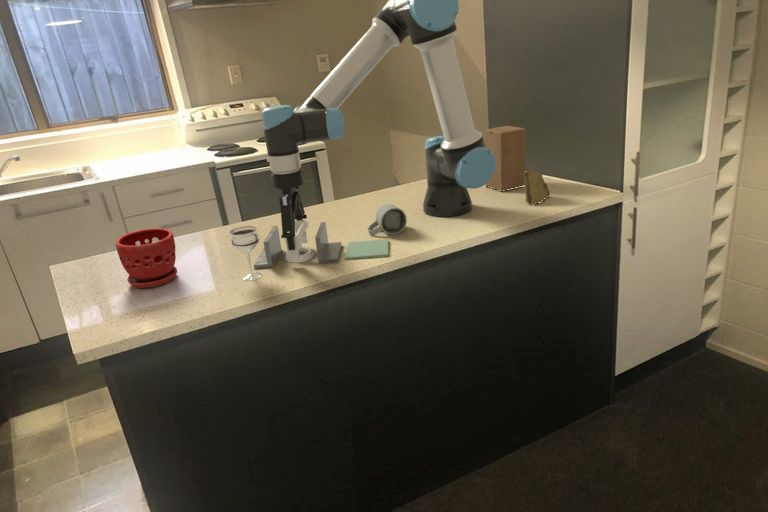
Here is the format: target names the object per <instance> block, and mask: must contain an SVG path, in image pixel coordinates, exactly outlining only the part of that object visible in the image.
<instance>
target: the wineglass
mask: <svg viewBox="0 0 768 512" xmlns="http://www.w3.org/2000/svg"><path fill="white" fill-rule="evenodd" d="M257 230H258V227H257V226H255V225H246V226H245V225H243V226H238V227H236V228H232V229H230V230H229V232H228V234H229V236H230V238H229V241H230V244H231V245H232V247H233V249H236V251H239V252H243V253H244V254H246V255H245V256H246V259H247V264H248V268H249V273H246V274H244V275H243V276H242V277H241V280H242V281H246V282H250V281H251V282H252V281H255V280H258V279H261V278H262V276H263V273H261V272H258V271H257V272H256V271H255V272H254V271H253V270H252V262H251V256H250V253H251V251H253V250H254V249H255V248H256V247H257V246H258V244H259V241H260V234H259V233H258V232H257Z"/></svg>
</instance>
